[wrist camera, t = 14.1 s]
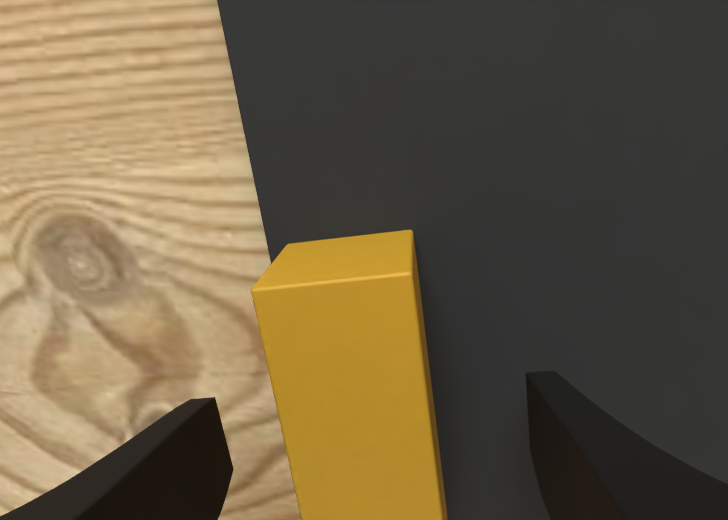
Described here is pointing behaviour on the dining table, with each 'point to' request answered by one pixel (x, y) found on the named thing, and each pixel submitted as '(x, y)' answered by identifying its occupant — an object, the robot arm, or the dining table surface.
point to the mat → (515, 202)
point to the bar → (353, 377)
